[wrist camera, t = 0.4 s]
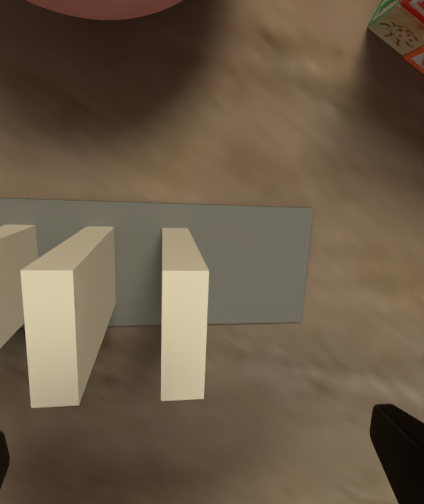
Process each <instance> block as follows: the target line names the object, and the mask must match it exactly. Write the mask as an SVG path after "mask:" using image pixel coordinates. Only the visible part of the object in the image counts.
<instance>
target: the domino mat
mask: <svg viewBox="0 0 424 504" xmlns="http://www.w3.org/2000/svg"><path fill="white" fill-rule="evenodd" d="M313 209H314V208H300V207H268V206H236V205H205V204H173V203H141V202H109V201H77V200H46V199H14V198H0V226H3V225H36V237H37V252H38V258H40V257H41V256H43V255H44V254H46V253H47V252H49V251H50V250H52V249H53V248H55V247H56V246H58V245H59V244H61V243H62V242H64V241H65V240H67V239H68V238H70V237H71V236H73V235H74V234H76V233H77V232H79V231H80V230H82V229H83V228H85V227H86V226H100V227H114V240H115V295H116V305H115V307H114V310H113V313H112V316H111V318H110V321H109V324H108V326H141V325H161V297H162V228H188V229H189V231H190V233H191V235H192V237H193V239H194V241H195V243H196V245H197V247H198V249H199V251H200V253H201V255H202V257H203V259H204V262H205V264H206V266H207V268H208V270H209V286H208V310H207V324H239V323H288V322H302V315H303V306H304V296H305V286H306V277H307V267H308V257H309V248H310V238H311V229H312V219H313ZM20 328H25V323H24V324H23V325H22V326H21V327H20Z"/></svg>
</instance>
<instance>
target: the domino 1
mask: <svg viewBox="0 0 424 504" xmlns="http://www.w3.org/2000/svg"><path fill="white" fill-rule="evenodd" d="M37 259H38V252H37V237H36V225H3V226H0V348H1V347H2V346H3V345H4V344H5V343H6V342H7V341H8V340H9V339H10V338H11V336H12V335H13V334H14V333H15V332H16V331H17V330H18V329H19V328H20V327H21V326H22V325H23V324H24V310H23V297H22V285H21V272H20V270H22V269H23V268H25V267H26V266H28V265H29V264H31V263H32V262H34V261H35V260H37Z"/></svg>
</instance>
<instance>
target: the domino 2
mask: <svg viewBox="0 0 424 504" xmlns="http://www.w3.org/2000/svg"><path fill="white" fill-rule="evenodd" d="M20 272H21V285H22V297H23V310H24V323H25V335H26V348H27V361H28V373H29V386H30V399H31V408H39V407H58V406H77V405H79V404H80V401H81V398H82V396H83V393H84V390H85V387H86V385H87V382H88V379H89V376H90V374H91V371H92V368H93V365H94V363H95V360H96V357H97V354H98V352H99V349H100V346H101V343H102V341H103V338H104V335H105V332H106V330H107V327H108V324H109V321H110V318H111V316H112V313H113V310H114V307H115V305H116V295H115V240H114V227H100V226H86V227H85V228H83V229H82V230H80V231H79V232H77V233H76V234H74V235H73V236H71V237H70V238H68V239H67V240H65V241H64V242H62V243H61V244H59V245H58V246H56V247H55V248H53V249H52V250H50V251H49V252H47V253H46V254H44V255H43V256H41V257H40V258H38V259H37V260H35V261H34V262H32V263H31V264H29V265H28V266H26V267H25V268H23V269H22V270H20Z"/></svg>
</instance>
